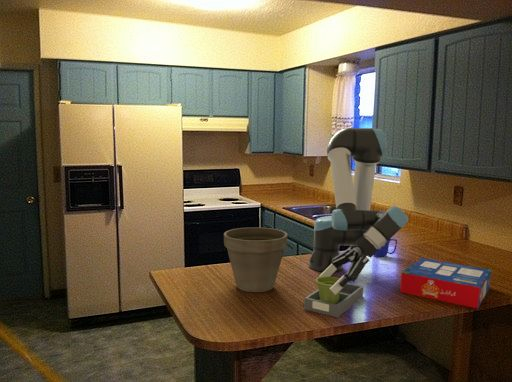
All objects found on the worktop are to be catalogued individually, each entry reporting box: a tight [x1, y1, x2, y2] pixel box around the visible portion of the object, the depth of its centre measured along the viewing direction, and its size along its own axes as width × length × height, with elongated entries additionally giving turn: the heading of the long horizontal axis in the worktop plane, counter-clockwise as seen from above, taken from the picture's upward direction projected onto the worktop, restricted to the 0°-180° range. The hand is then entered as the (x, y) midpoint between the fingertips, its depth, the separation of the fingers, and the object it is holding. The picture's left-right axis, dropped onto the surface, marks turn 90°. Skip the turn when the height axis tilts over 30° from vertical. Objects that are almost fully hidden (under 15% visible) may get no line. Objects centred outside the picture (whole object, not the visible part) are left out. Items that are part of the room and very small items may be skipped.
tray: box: [303, 282, 364, 318], centre depth 168 cm, size 13×25×4 cm, turn 148°
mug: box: [373, 238, 398, 258], centre depth 234 cm, size 8×12×10 cm
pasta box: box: [399, 257, 492, 309], centre depth 185 cm, size 28×8×28 cm
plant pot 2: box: [315, 276, 341, 305], centre depth 163 cm, size 9×9×9 cm
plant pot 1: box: [223, 227, 288, 293], centre depth 183 cm, size 25×25×22 cm
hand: (326, 285), depth 162 cm, fingers open, 13 cm apart
